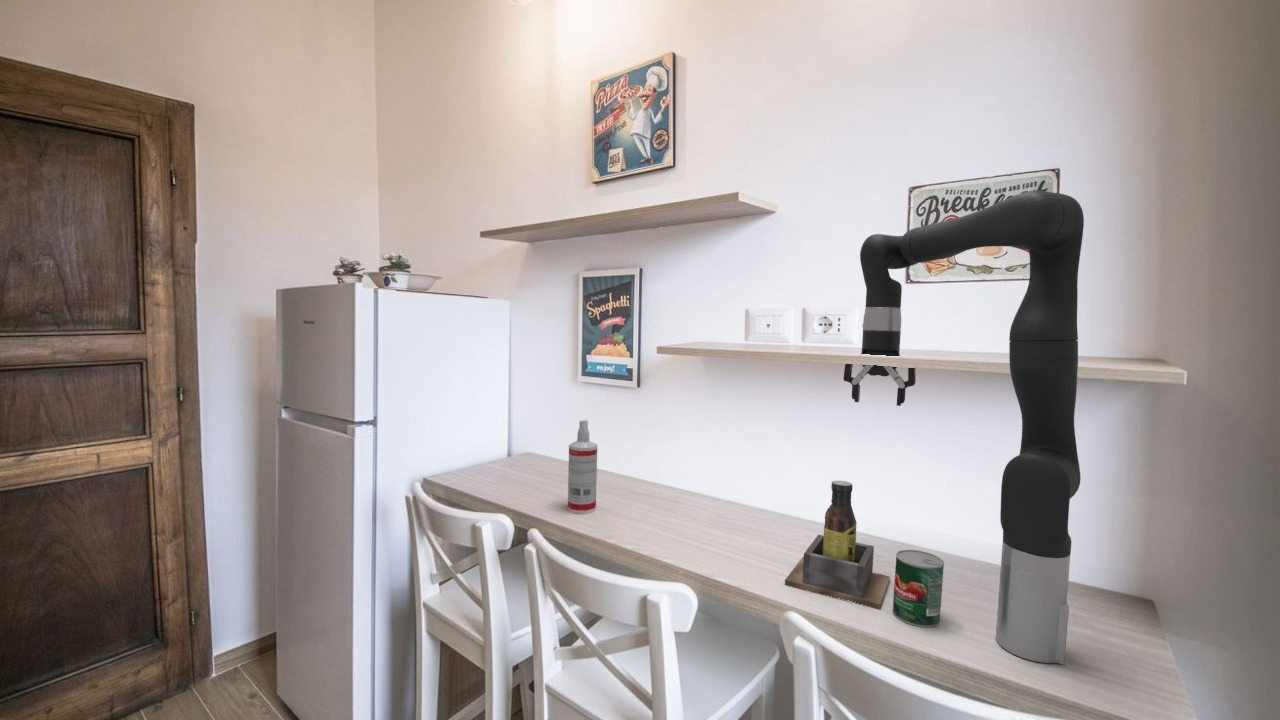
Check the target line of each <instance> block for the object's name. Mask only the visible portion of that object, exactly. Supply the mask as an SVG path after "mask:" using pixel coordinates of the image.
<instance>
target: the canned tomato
mask: <svg viewBox="0 0 1280 720" xmlns="http://www.w3.org/2000/svg"><path fill="white" fill-rule="evenodd" d="M944 566H945V562H944V560H943V559H942V558H941V557H939V556H937V555H935V554H933V553H930V552H927V551H922V550H917V549H901V550H899V551H897V552H896V553H895V566H894V567H895V571H894V584H893V585H894V587H893V602H892V610H891V611H892V614H893V616H894V617H895V618H897V619H898V620H899V619H900V620H899V621H901V622H903V623H905V624H908V625H911V626H913V627H919V628H935V627H937V626H939V625H940V622H941V610H942V593H943V582H944V581H943V580H944V579H943V578H944Z"/></svg>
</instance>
